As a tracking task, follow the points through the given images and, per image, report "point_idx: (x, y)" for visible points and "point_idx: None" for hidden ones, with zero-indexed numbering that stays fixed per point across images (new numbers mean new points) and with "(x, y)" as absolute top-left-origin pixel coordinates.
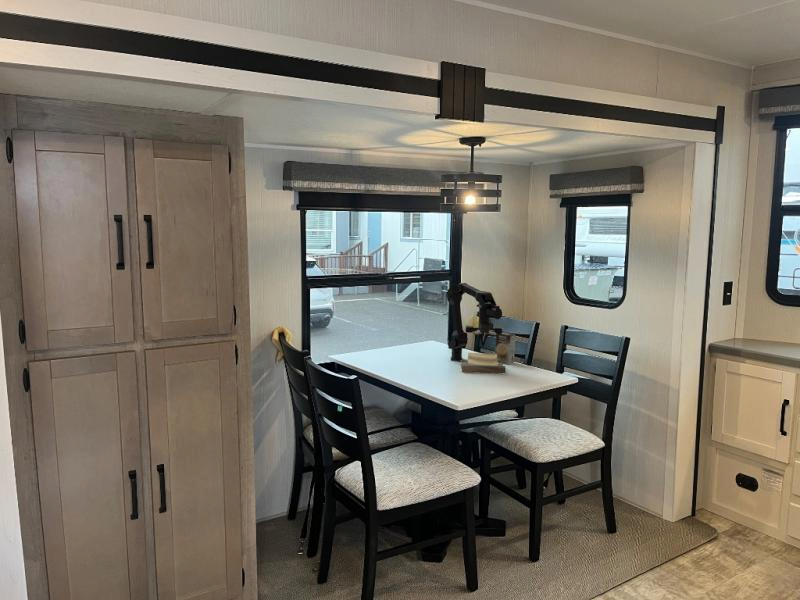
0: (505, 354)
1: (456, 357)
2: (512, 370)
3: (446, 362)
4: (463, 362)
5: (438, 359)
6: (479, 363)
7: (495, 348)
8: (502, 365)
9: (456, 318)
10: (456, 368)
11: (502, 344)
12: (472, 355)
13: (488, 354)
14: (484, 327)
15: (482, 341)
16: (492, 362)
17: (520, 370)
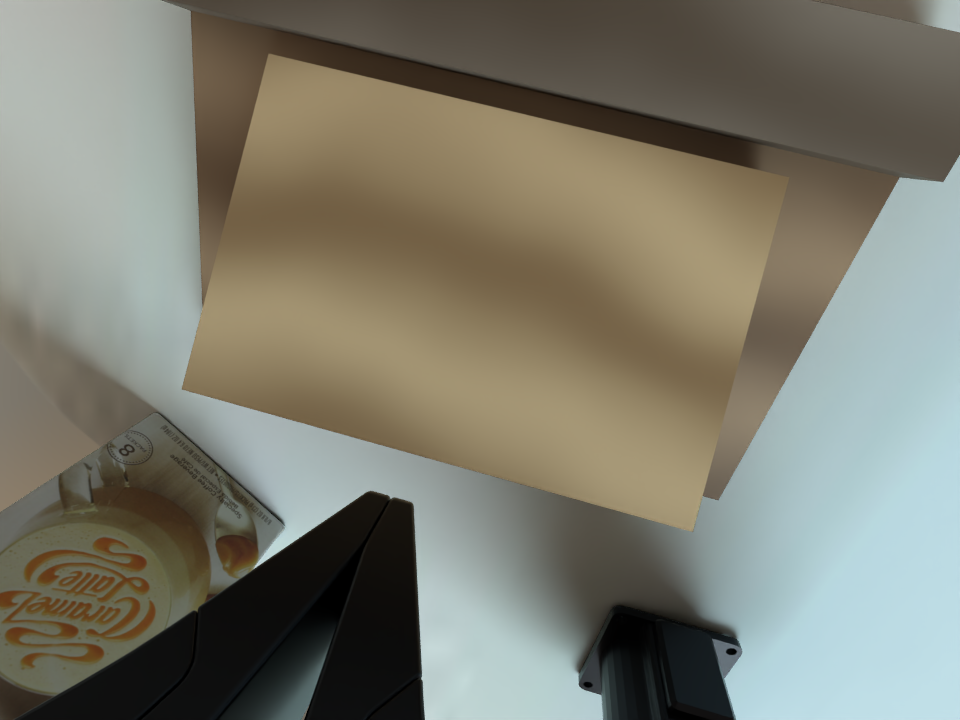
0: (103, 507)
1: (694, 649)
2: (116, 135)
3: (840, 582)
4: None
5: (862, 690)
6: (573, 173)
7: None
8: (210, 265)
9: None
10: (879, 304)
11: (20, 659)
12: (633, 431)
13: (331, 401)
14: None
15: (366, 603)
16: (332, 160)
17: (20, 129)
